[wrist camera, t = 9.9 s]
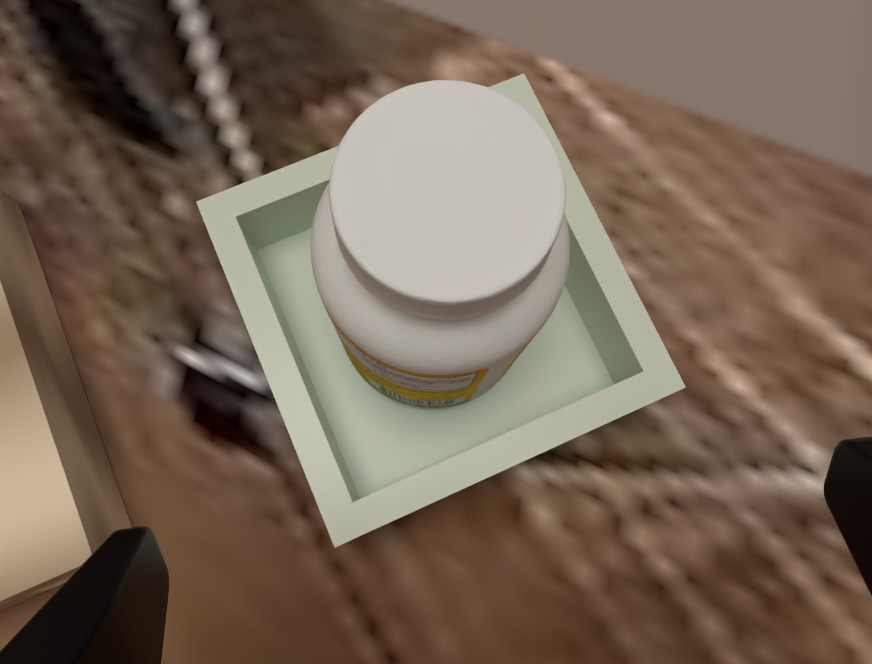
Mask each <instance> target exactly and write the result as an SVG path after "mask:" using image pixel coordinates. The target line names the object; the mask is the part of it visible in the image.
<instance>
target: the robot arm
mask: <svg viewBox="0 0 872 664" xmlns="http://www.w3.org/2000/svg"><path fill="white" fill-rule="evenodd" d="M824 496H825V500H826V502H827V505H828V507H829V509H830V511H831V513H832V515H833V517H834V519H835V522H836V524H837V526H838V528H839V530H840V532H841V534H842V536H843V538H844V540H845V542H846V544H847V546H848V548H849V550H850V553H851V555H852V557H853V559H854V561H855V563H856V565H857V567H858V569H859V571H860V573H861V575H862V577H863V579H864V581H865V583H866V586H867V588H868V590H869V592H870V593H871V595H872V437H862V438H854V439H846V440H842V441H840V442H839V443H838V444H837V445H836V447H835V449H834V453H833V456H832V459H831V463H830V466H829V469H828V472H827V476H826V479H825V483H824ZM168 593H169V574H168V569H167V566H166V564H165V561H164V559H163V556H162V554H161V551H160V549H159V546H158V544H157V541H156V539H155V536H154V534H153V532H152V530H151V529H150V528H148V527H144V526H142V527H134V528H126V529H119V530H116V531H115V532H113V533H112V534H111V535H110V536H109V537H108V538H107V539H106V540H105V541H104V542H103V543H102V544H101V545H100V546H99V547H98V548H97V549H96V550H95V551H94V552H93V554H92V555H91V556H90V557H89V558H88V559H87V560H86V561H85V562H84V563H83V564H82V565H81V566H80V567H79V568H78V569H77V571H76V572H75V573H74V574H73V575H72V576H71V577H70V578H69V579H68V580H67V581H66V582H65V583H64V584H63V585H62V586H61V588H60V589H59V590H58V591H57V592H56V593H55V594H54V595H53V596H52V597H51V598H50V599H49V600H48V601H47V602H46V603H45V604H44V606H43V607H42V608H41V609H40V610H39V611H38V612H37V613H36V614H35V615H34V616H33V617H32V618H31V619H30V620H29V621H28V623H27V624H26V625H25V626H24V627H23V628H22V629H21V630H20V631H19V632H18V633H17V634H16V635H15V636H14V637H13V638H12V640H11V641H10V642H9V643H8V644H7V645H6V646H5V647H4V648H3V649H2V650H1V651H0V664H161V658H162V649H163V640H164V630H165V621H166V612H167V602H168Z"/></svg>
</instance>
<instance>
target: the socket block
mask: <svg viewBox="0 0 872 664" xmlns="http://www.w3.org/2000/svg"><path fill="white" fill-rule="evenodd" d="M126 528H132V526H131V523H130V520H129V517H128V514H127V511H126V509H125V506H124V503H123V500H122V497H121V494H120V491H119V488H118V486H117V483H116V480H115V477H114V474H113V471H112V468H111V466H110V463H109V460H108V457H107V454H106V451H105V448H104V445H103V443H102V440H101V437H100V434H99V431H98V428H97V425H96V422H95V420H94V417H93V414H92V411H91V408H90V405H89V402H88V400H87V397H86V394H85V391H84V388H83V385H82V382H81V379H80V377H79V374H78V371H77V368H76V365H75V362H74V359H73V356H72V354H71V351H70V348H69V345H68V342H67V339H66V336H65V333H64V331H63V328H62V325H61V322H60V319H59V316H58V313H57V311H56V308H55V305H54V302H53V299H52V296H51V293H50V290H49V288H48V285H47V282H46V279H45V276H44V273H43V270H42V267H41V265H40V262H39V259H38V256H37V253H36V250H35V247H34V244H33V242H32V239H31V236H30V233H29V230H28V227H27V224H26V222H25V219H24V216H23V213H22V210H21V207H20V204H19V202H17V201H16V200H14V199H13V198H12V197H10V196H9V195H7V194H6V193H5V192H3V191H2V190H1V189H0V611H3V610H5V609H7V608H9V607H12V606H14V605H16V604H18V603H21V602H23V601H25V600H27V599H30V598H32V597H34V596H36V595H39V594H41V593H43V592H45V591H48V590H50V589H52V588H55V587H57V586H59V585H61V584H64V583H65V582H66V581H67V580H68V579H69V578H70V577H71V576H72V575H73V574H74V573H75V572H76V571H77V569H78V568H79V567H80V566H81V565H82V564H83V563H84V562H85V561H86V560H87V559H88V558H89V557H90V556H91V555H92V554H93V552H94V551H95V550H96V549H97V548H98V547H99V546H100V545H101V544H102V543H103V542H104V541H105V540H106V539H107V538H108V537H109V536H110V535H111V534H112V533H113V532H115V531H116V530H119V529H126Z"/></svg>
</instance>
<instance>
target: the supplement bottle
mask: <svg viewBox="0 0 872 664" xmlns="http://www.w3.org/2000/svg"><path fill="white" fill-rule="evenodd" d="M565 202H566V184H565V178H564V173H563V169H562V164H561V161H560V158H559V155H558V153H557V150H556V148H555V146H554V145H553V143H552V141H551V139H550V137H549V135H548V134H547V133H546V131H545V130H544V129H543V127H542V126H541V125H540V123H539V122H538V121H537V120H536V119H535V118H534V117H533V116H532V115H531V114H530V113H529V112H528V111H527V110H526V109H524V108H523V107H522V106H520V105H519V104H517V103H516V102H515V101H513V100H512V99H510V98H508V97H507V96H505V95H503V94H501V93H499V92H497V91H495V90H493V89H491V88H488V87H485V86H482V85H478V84H474V83H470V82H463V81H453V80H435V81H428V82H422V83H417V84H413V85H409V86H406V87H403V88H401V89H399V90H396V91H394V92H392V93H390V94H388V95H386V96H384V97H382V98H381V99H380V100H378V101H377V102H375V103H374V104H372V105H371V106H370V107H369V108H367V109H366V110H365V111H364V112H363V113H362V114H361V115H360V116H359V117H358V118H357V119H356V120H355V122H354V123H353V124H352V125H351V126H350V128H349V129H348V131H347V132H346V134H345V136H344V137H343V139H342V141H341V143H340V145H339V147H338V149H337V152H336V154H335V157H334V160H333V163H332V167H331V173H330V179H329V183H328V185H327V186H326V188H325V190H324V193H323V195H322V197H321V199H320V201H319V204H318V206H317V210H316V213H315V217H314V221H313V226H312V232H311V249H310V251H311V262H312V269H313V274H314V278H315V282H316V286H317V289H318V292H319V295H320V297H321V300H322V302H323V304H324V307H325V309H326V311H327V313H328V315H329V317H330V319H331V321H332V323H333V325H334V327H335V330H336V332H337V334H338V336H339V338H340V340H341V342H342V344H343V347H344V349H345V351H346V353H347V355H348V357H349V359H350V360H351V362H352V364H353V366H354V367H355V369H356V370H357V372H358V373H359V374H360V375H361V376H362V378H363V379H364V380H365V381H366V382H367V383H368V384H370V385H371V386H372V387H373V388H374V389H375V390H377V391H378V392H380V393H381V394H382V395H384V396H386V397H387V398H389V399H391V400H393V401H396V402H398V403H401V404H404V405H408V406H411V407H417V408H425V409H441V408H448V407H453V406H458V405H461V404H464V403H467V402H469V401H471V400H473V399H475V398H477V397H479V396H481V395H482V394H484V393H485V392H487V391H488V390H489V389H490V388H492V387H493V386H494V385H495V384H496V383H497V382H498V381H499V380H500V379H501V378H502V377H503V376H504V375H505V373H506V372H507V371H508V370H509V368H510V367H511V366H512V365H513V363H514V362H515V361H516V359H517V358H518V357H519V356H520V354H521V353H522V352H523V350H524V349H525V348H526V347H527V345H528V344H529V343H530V342H531V341H532V339H533V338H534V337H535V336H536V335H537V333H538V332H539V331H540V330H541V328H542V327H543V326H544V324H545V323H546V322H547V320H548V319H549V317H550V316H551V314H552V312H553V310H554V309H555V307H556V305H557V303H558V301H559V298H560V296H561V294H562V291H563V288H564V286H565V282H566V278H567V273H568V268H569V261H570V235H569V229H568V223H567V219H566V215H565V212H564V210H565Z"/></svg>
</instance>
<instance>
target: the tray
mask: <svg viewBox="0 0 872 664" xmlns="http://www.w3.org/2000/svg"><path fill="white" fill-rule="evenodd" d="M488 88H491V89H493V90H495V91H497V92H499V93H501V94H503V95H505V96H507V97H508V98H510V99H512V100H513V101H515V102H516V103H517V104H519V105H520V106H522V107H523V108H524V109H526V110H527V111H528V112H529V113H530V114H531V115H532V116H533V117H534V118H535V119H536V120H537V121H538V122H539V123H540V125H541V126H542V127H543V129H544V130H545V131H546V133H547V134H548V135H549V137H550V139H551V141H552V143H553V145H554V146H555V148H556V150H557V153H558V155H559V158H560V161H561V164H562V169H563V173H564V178H565V184H566V202H565V210H564V212H565V215H566V219H567V223H568V229H569V235H570V261H569V268H568V273H567V278H566V282H565V286H564V288H563V291H562V294H561V296H560V298H559V301H558V303H557V305H556V307H555V309H554V310H553V312H552V314H551V316H550V317H549V319H548V320H547V322H546V323H545V324H544V326H543V327H542V328H541V330H540V331H539V332H538V333H537V335H536V336H535V337H534V338H533V339H532V341H531V342H530V343H529V344H528V345H527V347H526V348H525V349H524V350H523V352H522V353H521V354H520V356H519V357H518V358H517V359H516V361H515V362H514V363H513V365H512V366H511V367H510V368H509V370H508V371H507V372H506V373H505V375H504V376H503V377H502V378H501V379H500V380H499V381H498V382H497V383H496V384H495V385H494V386H493V387H492V388H490V389H489V390H488V391H487V392H485V393H484V394H482V395H481V396H479V397H477V398H475V399H473V400H471V401H469V402H467V403H464V404H461V405H458V406H453V407H448V408H441V409H425V408H417V407H411V406H408V405H404V404H401V403H398V402H396V401H393V400H391V399H389V398H387V397H386V396H384V395H382V394H381V393H380V392H378V391H377V390H375V389H374V388H373V387H372V386H371V385H370V384H368V383H367V382H366V381H365V380H364V379H363V378H362V376H361V375H360V374H359V373H358V372H357V370H356V369H355V367H354V366H353V364H352V362H351V360H350V359H349V357H348V355H347V353H346V351H345V349H344V347H343V344H342V342H341V340H340V338H339V336H338V334H337V332H336V330H335V327H334V325H333V323H332V321H331V319H330V317H329V315H328V313H327V311H326V309H325V307H324V304H323V302H322V300H321V297H320V295H319V292H318V289H317V286H316V282H315V278H314V274H313V269H312V262H311V251H310V249H311V232H312V226H313V221H314V217H315V213H316V210H317V206H318V204H319V201H320V199H321V197H322V195H323V193H324V190H325V188H326V186H327V185H328V183H329V179H330V173H331V167H332V163H333V160H334V157H335V154H336V152H337V149H338V147H339V146H337V147H335V148H332V149H330V150H327V151H325V152H322V153H319V154H317V155H314V156H312V157H309V158H307V159H304V160H302V161H299V162H296V163H294V164H291V165H289V166H286V167H284V168H281V169H279V170H276V171H273V172H271V173H268V174H266V175H263V176H261V177H258V178H256V179H253V180H250V181H248V182H245V183H243V184H240V185H238V186H235V187H233V188H230V189H227V190H225V191H222V192H220V193H217V194H215V195H212V196H210V197H207V198H204V199H202V200H199V201H197V205H198V207H199V210H200V212H201V215H202V217H203V220H204V222H205V225H206V227H207V230H208V232H209V235H210V237H211V240H212V242H213V245H214V247H215V250H216V252H217V255H218V257H219V260H220V262H221V265H222V267H223V270H224V272H225V275H226V277H227V280H228V282H229V285H230V287H231V290H232V292H233V295H234V297H235V300H236V302H237V305H238V307H239V310H240V312H241V315H242V317H243V320H244V322H245V325H246V327H247V330H248V332H249V335H250V337H251V340H252V342H253V345H254V347H255V350H256V352H257V355H258V357H259V360H260V362H261V365H262V367H263V370H264V372H265V375H266V377H267V380H268V382H269V385H270V387H271V390H272V392H273V395H274V397H275V400H276V402H277V405H278V407H279V410H280V412H281V415H282V417H283V420H284V422H285V425H286V427H287V430H288V432H289V435H290V437H291V440H292V442H293V445H294V447H295V450H296V452H297V455H298V457H299V460H300V462H301V465H302V467H303V470H304V472H305V475H306V477H307V480H308V482H309V485H310V487H311V490H312V492H313V495H314V497H315V500H316V502H317V505H318V507H319V510H320V512H321V515H322V517H323V520H324V522H325V525H326V527H327V530H328V532H329V535H330V537H331V540H332V542H333V545H334V547H337V546H339V545H342V544H344V543H346V542H348V541H350V540H352V539H355V538H357V537H359V536H361V535H363V534H366V533H368V532H370V531H372V530H374V529H377V528H379V527H381V526H383V525H385V524H388V523H390V522H392V521H394V520H396V519H398V518H401V517H403V516H405V515H407V514H409V513H412V512H414V511H416V510H418V509H420V508H423V507H425V506H427V505H429V504H431V503H433V502H436V501H438V500H440V499H442V498H444V497H447V496H449V495H451V494H453V493H455V492H458V491H460V490H462V489H464V488H466V487H469V486H471V485H473V484H475V483H477V482H479V481H482V480H484V479H486V478H488V477H490V476H493V475H495V474H497V473H499V472H501V471H504V470H506V469H508V468H510V467H512V466H515V465H517V464H519V463H521V462H523V461H525V460H528V459H530V458H532V457H534V456H536V455H539V454H541V453H543V452H545V451H547V450H550V449H552V448H554V447H556V446H558V445H561V444H563V443H565V442H567V441H569V440H571V439H574V438H576V437H578V436H580V435H582V434H585V433H587V432H589V431H591V430H593V429H596V428H598V427H600V426H602V425H604V424H606V423H609V422H611V421H613V420H615V419H617V418H620V417H622V416H624V415H626V414H628V413H631V412H633V411H635V410H637V409H639V408H642V407H644V406H646V405H648V404H650V403H652V402H655V401H657V400H659V399H661V398H663V397H666V396H668V395H670V394H672V393H674V392H677V391H679V390H681V389H683V388H685V385H684V383H683V381H682V379H681V377H680V375H679V373H678V371H677V370H676V368H675V366H674V364H673V362H672V360H671V358H670V356H669V354H668V352H667V350H666V348H665V346H664V344H663V342H662V340H661V338H660V337H659V335H658V333H657V331H656V329H655V327H654V325H653V323H652V321H651V319H650V317H649V315H648V313H647V311H646V309H645V307H644V305H643V304H642V302H641V300H640V298H639V296H638V294H637V292H636V290H635V288H634V286H633V284H632V282H631V280H630V278H629V276H628V274H627V272H626V271H625V269H624V267H623V265H622V263H621V261H620V259H619V257H618V255H617V253H616V251H615V249H614V247H613V245H612V243H611V241H610V239H609V238H608V236H607V234H606V232H605V230H604V228H603V226H602V224H601V222H600V220H599V218H598V216H597V214H596V212H595V210H594V208H593V206H592V205H591V203H590V201H589V199H588V197H587V195H586V193H585V191H584V189H583V187H582V185H581V183H580V181H579V179H578V177H577V175H576V173H575V172H574V170H573V168H572V166H571V164H570V162H569V160H568V158H567V156H566V154H565V152H564V150H563V148H562V146H561V144H560V142H559V140H558V139H557V137H556V135H555V133H554V131H553V129H552V127H551V125H550V123H549V121H548V119H547V117H546V115H545V113H544V111H543V109H542V107H541V106H540V104H539V102H538V100H537V98H536V96H535V94H534V92H533V90H532V88H531V86H530V84H529V82H528V80H527V78H526V76H525V74H521V75H519V76H516V77H514V78H511V79H509V80H506V81H504V82H501V83H498V84H496V85H493V86H491V87H488Z"/></svg>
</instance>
